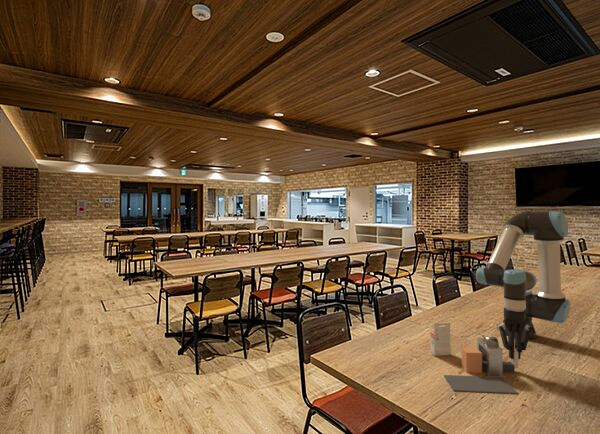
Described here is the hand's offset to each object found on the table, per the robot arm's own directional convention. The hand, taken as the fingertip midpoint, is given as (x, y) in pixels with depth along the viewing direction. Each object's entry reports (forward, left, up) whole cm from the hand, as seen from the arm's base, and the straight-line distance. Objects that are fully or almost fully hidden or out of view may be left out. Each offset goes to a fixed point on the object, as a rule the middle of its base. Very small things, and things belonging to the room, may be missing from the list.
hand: (514, 366), depth 135 cm
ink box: (+25, -14, -2) cm, 29 cm away
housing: (+10, 0, -2) cm, 10 cm away
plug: (+10, 0, -2) cm, 10 cm away
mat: (+19, +12, -2) cm, 22 cm away
